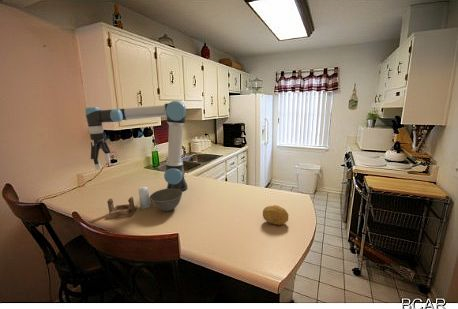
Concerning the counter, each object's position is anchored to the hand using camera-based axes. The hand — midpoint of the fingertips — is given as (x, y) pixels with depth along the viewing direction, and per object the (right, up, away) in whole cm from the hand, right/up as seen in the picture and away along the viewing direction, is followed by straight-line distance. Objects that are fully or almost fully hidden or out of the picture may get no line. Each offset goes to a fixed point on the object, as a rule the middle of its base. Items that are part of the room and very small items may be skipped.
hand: (103, 166), depth 138 cm
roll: (+27, -26, 0) cm, 37 cm away
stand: (+16, -28, -7) cm, 33 cm away
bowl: (+43, -26, -5) cm, 51 cm away
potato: (+104, -29, -25) cm, 111 cm away
